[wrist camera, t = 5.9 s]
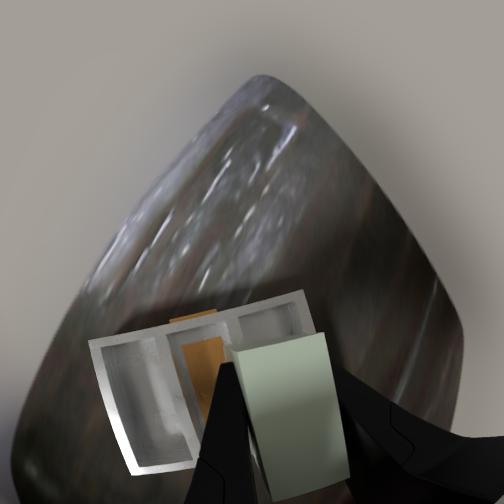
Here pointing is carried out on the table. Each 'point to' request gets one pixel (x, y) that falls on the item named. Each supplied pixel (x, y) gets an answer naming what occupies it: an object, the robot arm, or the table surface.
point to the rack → (180, 376)
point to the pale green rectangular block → (291, 413)
